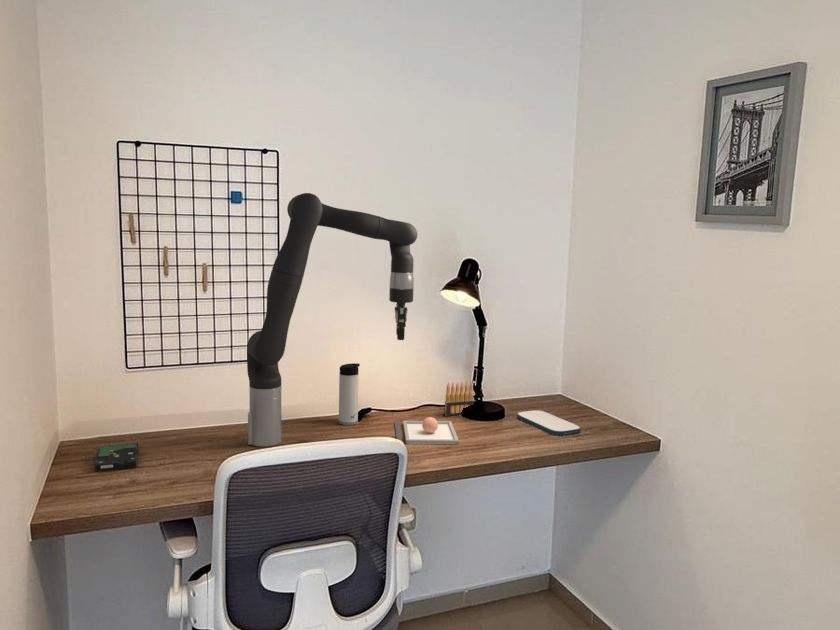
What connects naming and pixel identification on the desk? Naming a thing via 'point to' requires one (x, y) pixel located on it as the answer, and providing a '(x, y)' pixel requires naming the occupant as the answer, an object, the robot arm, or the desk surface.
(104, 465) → the disk drive
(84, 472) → the desk surface
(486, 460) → the desk surface
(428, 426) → the rubber ball
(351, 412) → the travel mug
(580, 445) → the desk surface
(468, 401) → the ammunition clip
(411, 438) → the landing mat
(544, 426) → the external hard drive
